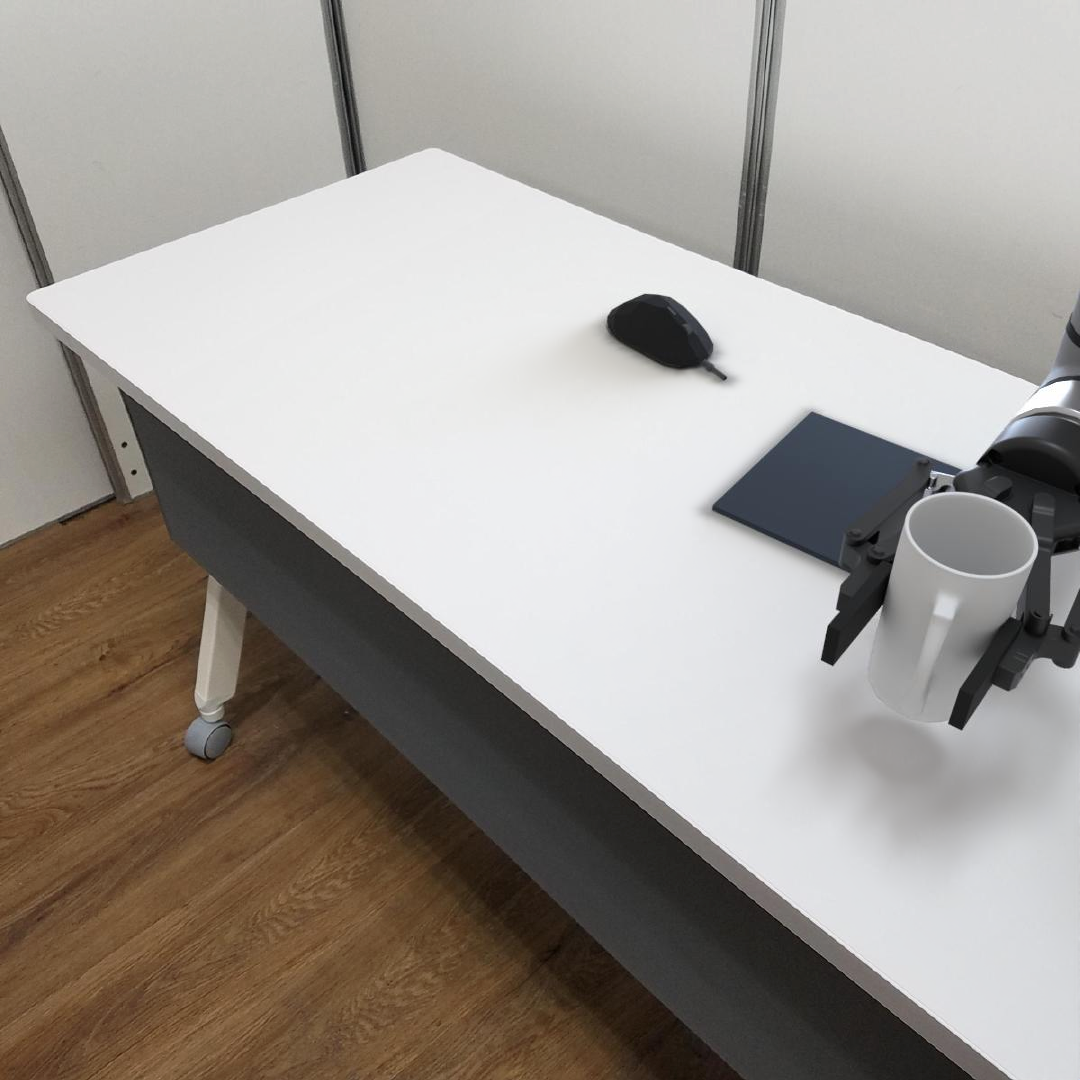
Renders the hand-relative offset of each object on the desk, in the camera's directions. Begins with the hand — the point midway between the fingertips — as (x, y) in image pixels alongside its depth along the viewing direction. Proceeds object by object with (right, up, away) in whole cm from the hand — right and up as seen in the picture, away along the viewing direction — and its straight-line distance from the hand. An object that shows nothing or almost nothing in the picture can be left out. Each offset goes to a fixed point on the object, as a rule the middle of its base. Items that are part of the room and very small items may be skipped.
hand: (893, 676), depth 59 cm
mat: (+6, +11, +31) cm, 33 cm away
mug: (+3, -2, +7) cm, 8 cm away
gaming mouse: (-6, +25, +48) cm, 55 cm away
